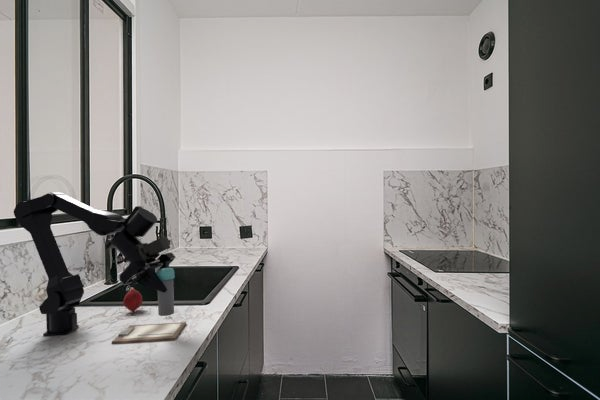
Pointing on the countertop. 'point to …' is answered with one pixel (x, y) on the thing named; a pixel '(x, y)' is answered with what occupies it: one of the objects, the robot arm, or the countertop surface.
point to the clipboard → (149, 333)
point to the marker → (168, 297)
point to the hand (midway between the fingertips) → (170, 289)
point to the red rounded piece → (132, 300)
